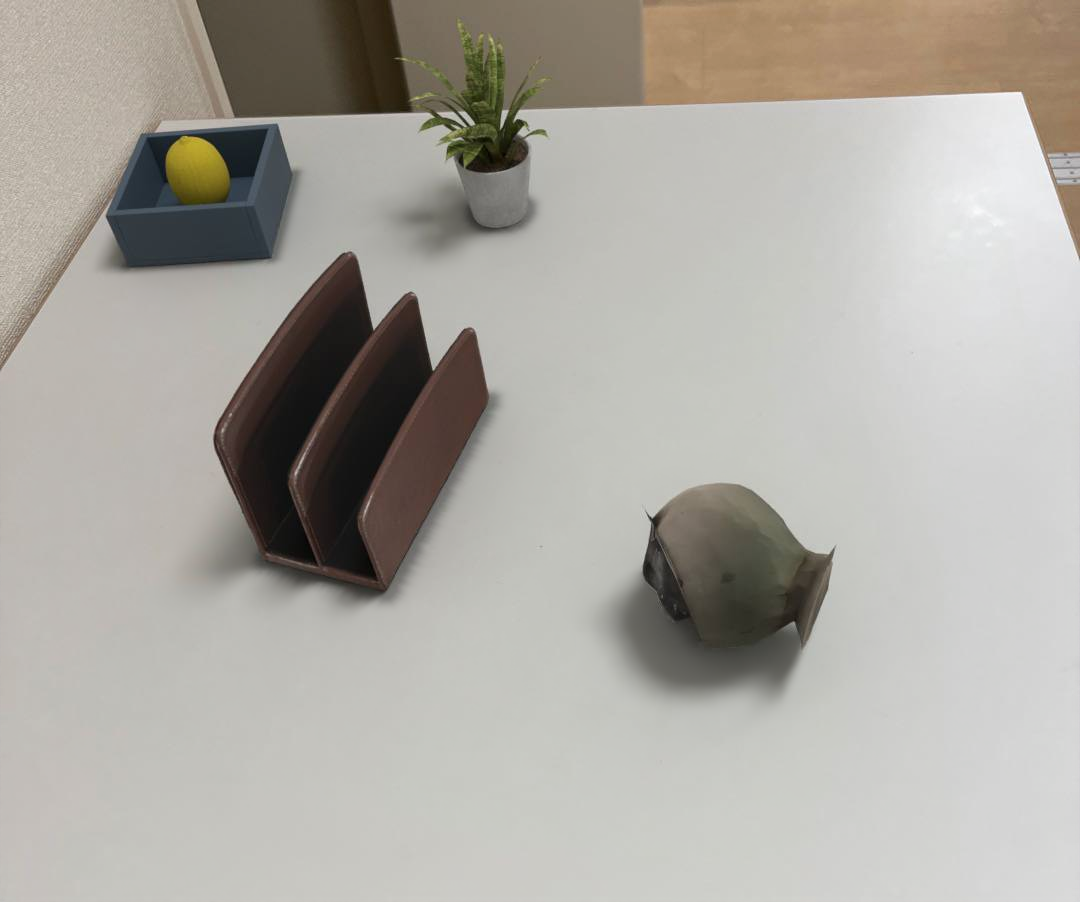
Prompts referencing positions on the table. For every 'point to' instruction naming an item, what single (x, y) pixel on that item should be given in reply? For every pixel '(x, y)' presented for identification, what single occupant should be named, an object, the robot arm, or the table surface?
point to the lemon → (197, 172)
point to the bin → (207, 229)
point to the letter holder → (347, 431)
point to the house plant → (487, 136)
